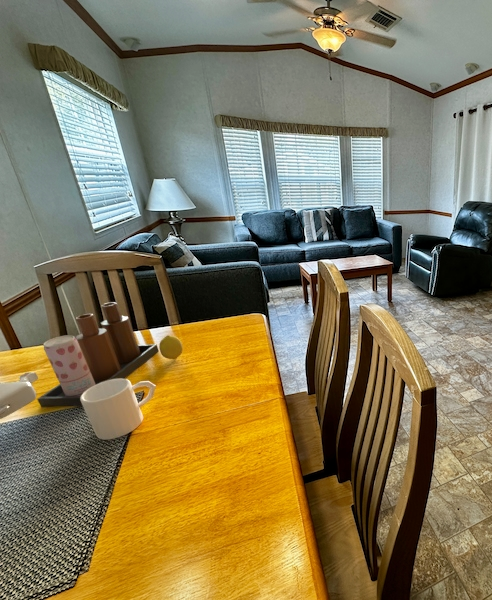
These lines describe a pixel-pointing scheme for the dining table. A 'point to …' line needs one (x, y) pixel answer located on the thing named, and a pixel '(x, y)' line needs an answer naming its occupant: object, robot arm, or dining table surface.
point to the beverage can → (69, 365)
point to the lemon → (171, 347)
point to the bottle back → (120, 333)
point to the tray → (60, 400)
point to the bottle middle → (96, 348)
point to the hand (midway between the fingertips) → (9, 375)
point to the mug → (114, 407)
